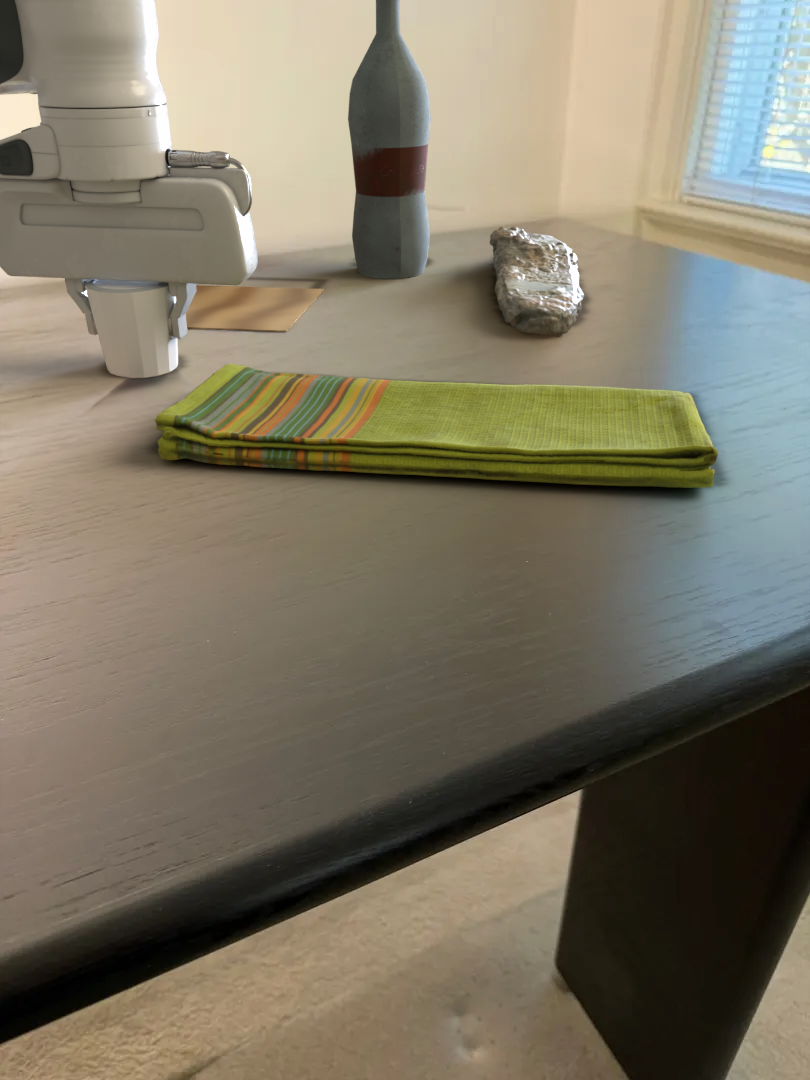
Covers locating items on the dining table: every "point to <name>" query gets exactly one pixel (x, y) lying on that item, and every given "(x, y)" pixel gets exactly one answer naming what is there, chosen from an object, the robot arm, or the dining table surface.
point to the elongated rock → (536, 281)
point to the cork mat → (248, 307)
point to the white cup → (134, 326)
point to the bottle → (389, 154)
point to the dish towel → (441, 429)
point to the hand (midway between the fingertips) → (138, 334)
